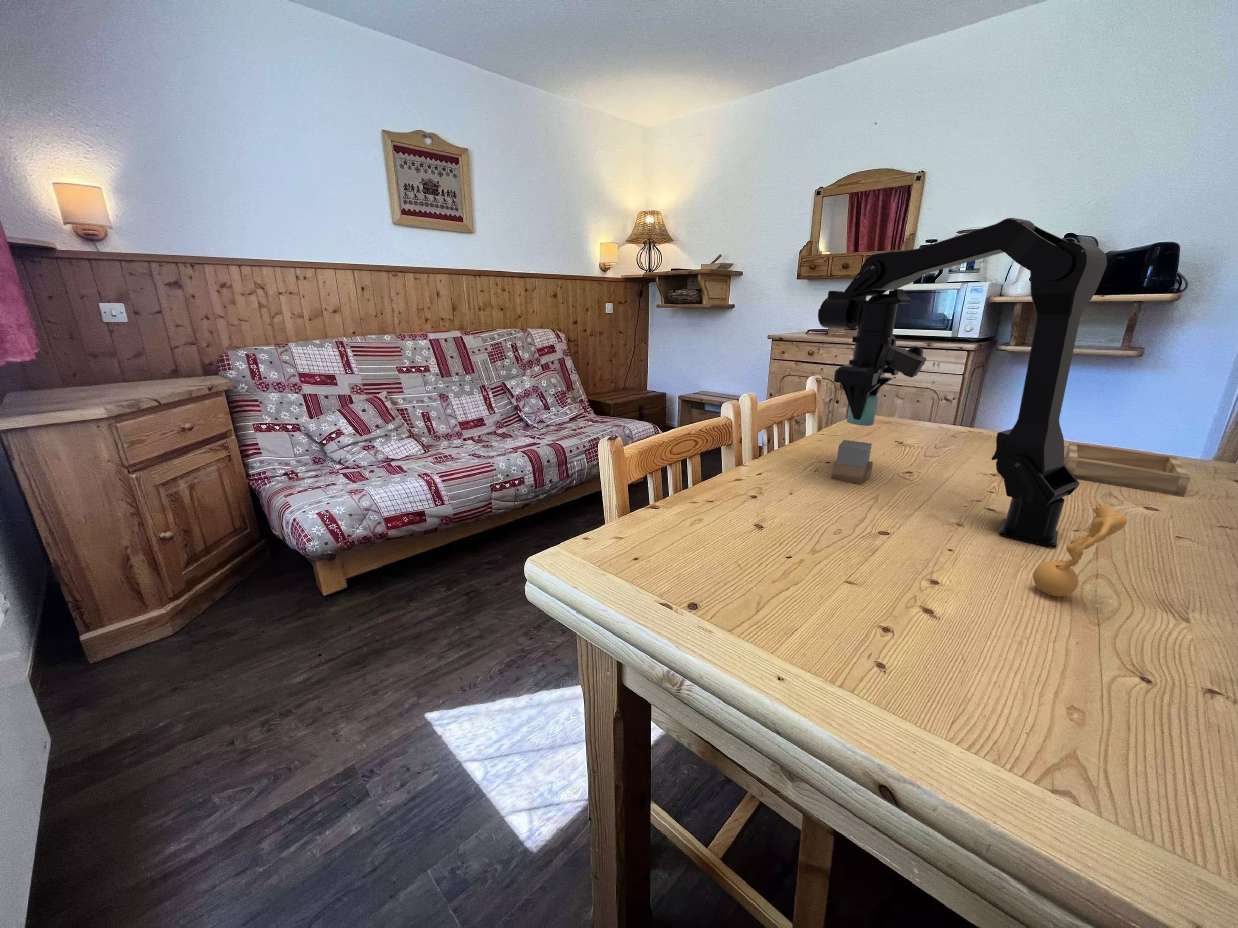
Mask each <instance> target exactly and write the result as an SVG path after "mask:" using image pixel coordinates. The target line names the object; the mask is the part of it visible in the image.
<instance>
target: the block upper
mask: <svg viewBox="0 0 1238 928" xmlns="http://www.w3.org/2000/svg"><path fill="white" fill-rule="evenodd" d="M841 441H842V442H840V443H839V445H838V449H837V456H836V460H837V462H836V463H837V464H843V465H850V466H856V467H862V468H865V467H866V465H867V464H868V462H869V461H870V457H871V452H872V451H871V450H872V444H873V443H871V442H870V443H869V442H861V441H854V440H848V439H842V440H841Z"/></svg>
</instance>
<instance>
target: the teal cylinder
mask: <svg viewBox="0 0 1238 928" xmlns="http://www.w3.org/2000/svg"><path fill="white" fill-rule="evenodd" d="M878 400H879V396H878V395H877V396H875V395H869V396H868V399H867V402H866V405H865V408H864V411H863V414H862V417H861V419H860V420H856V419H854V418H853V415H852V412H851V409H850V406H849V405H848V409H847V410H848V411H847V417H846V422H847V423H848V424H851V425H855V426H873V425H874V424H875V418H876V412H877V406H878Z"/></svg>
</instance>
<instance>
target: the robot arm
mask: <svg viewBox="0 0 1238 928" xmlns="http://www.w3.org/2000/svg"><path fill="white" fill-rule="evenodd" d="M1004 253H1005V254H1006V256H1008V257H1010V258H1011V260H1012V261H1014V262H1015V263H1016V264H1018V266H1022V267H1023V268H1025V269H1026V270H1028V271H1029V273H1030V274H1029V276H1030V277H1029V278H1030V284H1029V285H1030V296H1031V301H1032V304H1033V308H1034V312H1035V325H1034V330H1033V334H1032V335H1033V336H1032V342H1031V345H1030V346H1031V347H1030V351H1029V355H1028V362H1027V366H1026V367H1027V368H1026V372H1025V378H1024V383H1023V389H1022V395H1021V401H1020V405H1019V412H1018V417H1017V420H1016V422H1015V423H1014V426H1013V427H1012V428H1010V429H1006V430H1002V431H998V432H997V433H996V438H995V439H996V441H995V442H996V446H995V447H996V448H995V451H994V454H993V456H992V457H991V460H992V461H995V460H996V462H995V469H996V472H997V474H999V475H1000V477H1001V478H1002V479H1003V482H1004V487H1005V494H1006V496H1007V497H1010V498H1011V500H1010V503H1009V506H1008V507H1009V508H1008V512H1007V514H1006V518H1003V519H1002V521H1001V523H1000V524H1001V525H1000V528H999V530H998V535H1000V536H1002V537H1007V538H1012V539H1015V540H1018V541H1019V540H1020V541H1024V542H1027V543H1028V542H1029V543H1032V544H1036V545H1040V546H1044V547H1049V548H1057V546H1058V530H1057V527H1058V524H1059V521H1060V517H1061V515H1062V510H1063V507H1064V503H1065V501H1066V500H1065V498H1064V497H1066V496H1070V495H1072V494H1073V493H1074V492H1075V490H1076V489H1078V487H1079V486H1080V482H1079V481H1078V480H1079V479H1076V478H1075V477H1074V476H1073V474H1072V473H1071V472H1070V471H1069V469H1068V468H1067V467H1066V466H1065V438H1064V435H1063V432H1062V428H1061V423H1060V417H1061V414H1062V413H1061V412H1062V407H1063V403H1064V398H1065V393H1066V388H1067V384H1068V379H1069V373H1070V369H1071V364H1072V360H1073V359H1072V358H1073V356H1074V348H1075V344H1076V341H1077V340H1076V339H1077V335H1078V334H1077V333H1078V330H1079V326H1080V319H1081V317H1082V315H1083V313H1084V312H1085V310H1086V308H1087V307H1088V304H1089V303H1090V302H1091V300H1092V298H1093V297H1094V295H1095V294H1096V292H1097V289H1098V288H1099V285H1100V283H1101V280H1102V278H1103V276H1104V273H1105V271H1106V269H1107V265H1108V258H1107V255H1106V253H1105V252H1104V251H1103V250H1102V249H1101V248H1100V247H1098V246H1096V245H1092V244H1089V243H1083V242H1077V241H1076V242H1075V241H1068V240H1066V239H1064V238H1061V237H1059V236H1057V235H1055V234H1053V233H1051V232H1048V231H1046V230H1044V229H1042V228H1040V227H1038V226H1037V225H1035V224H1034V223H1033V222H1032V221H1030V220H1027V219H1022V218H1016V217H1009V218H1005V219H1002V220H1000V221H999V222H996V223H995V224H991V225H988V226H984V227H981V228H979V229H976V230H972V231H970V232H967V233H963V234H960V235H956V236H953V237H950V238H947V239H944V240H941V241H937V242H935V243H931V244H928V245H926V246H925V245H924V246H921V247H919V248H914V249H903V250H892V251H886V252H885V251H884V252H878V253H873V254H871V255H869V256H867V257H866V258H865V259H864V261H863V264H862V265H861V267H860V270H859V272H857V274H856V275H855V276H854V278H853V279H852V280H851V282H850V284H849V285H847V287H846V289H845V290H844V291H842V290H829V291H828V292H827V297H826V298H825V299H824V300H823V301H822V303H821V304H820V308H819V309H818V312H817V319H818V322H819V324H820V326H821V327H822V328H826V329H839V330H840V329H841V330H854V329H855V328H857V330H856V335H855V336H852V340H851V343H853V344H854V349H853V355H852V356H853V357H852V359H849V361H848V363H847V364H844V365H841V366H839V367H838V368H837V369H836V370H835V371H834V377H833V383H839V384H840V386H841V387H842V389H843V392H844V394H845V397H846V400H847V403H848V407H849V406H850V409H851V412H852V415H853V418H854V419H856V420H860V419H861V417H862V414H863V411H864V408H865V405H866V402H867V399H868V396H869V395H875V396H878V394H879V392H880V390H881V388H882V387H883V386H885V385H886V384H888V383H889V382H890V381H892V380H893V376H894V377H895V376H897V375H899V372H900V374H901V373H902V374H903V376H905V377H907V378H915V377H917V375H918V374H919V373H920V371H921V369H922V367H923V366H925V364H926V362H927V357H926V356H924V348H921V347H919V346H917V345H914V346H911V347H910V348H909V349H906V348H905V347H904V348H902V347H900V346H897V345H896V344H897V338H896V337H895V336H893V335H894V328H895V322H896V317H897V311H898V306H899V304H900V305H909V304H911V303H912V299H911V298H910V297H909V296H908V294H906V293H905V291H904V289H903V287H904V286H907V285H909V284H911V283H914V282H915V281H917V280H918V279H920V278H921V277H923V276H925V275H928V274H930V273H933V272H934V273H935V272H936V271H940V270H944V269H948V268H951V267H955V266H959V265H963V264H966V263H969V262H974V261H979V260H981V259H985V258H989V257H993V256H997V255H999V254H1004ZM888 291H892V292H890V293H887V292H888ZM867 297H870V298H868V300H867ZM886 374H890V375H891V376H892V377H887V376H886ZM885 376H886V377H885Z"/></svg>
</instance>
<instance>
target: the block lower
mask: <svg viewBox="0 0 1238 928" xmlns="http://www.w3.org/2000/svg"><path fill="white" fill-rule="evenodd" d="M836 462H837V459H836V460H834V461H833V462H832V469H831V476H830V478H831V480H835V481H839V482H844V483H849V484H852V485H856V486H862V485H863V484H865V483H866V482H867V481H869V480H871V478H872V471H873V465H874V462H873V461H872V460H871V461H870V460H869V462H868V464H867V465H866V467H865V468H862V467H856V466H850V465H843V464H837V463H836Z"/></svg>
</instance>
